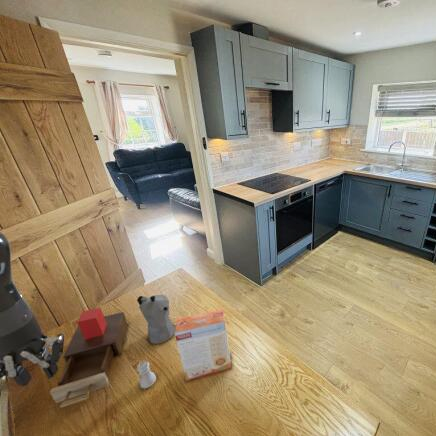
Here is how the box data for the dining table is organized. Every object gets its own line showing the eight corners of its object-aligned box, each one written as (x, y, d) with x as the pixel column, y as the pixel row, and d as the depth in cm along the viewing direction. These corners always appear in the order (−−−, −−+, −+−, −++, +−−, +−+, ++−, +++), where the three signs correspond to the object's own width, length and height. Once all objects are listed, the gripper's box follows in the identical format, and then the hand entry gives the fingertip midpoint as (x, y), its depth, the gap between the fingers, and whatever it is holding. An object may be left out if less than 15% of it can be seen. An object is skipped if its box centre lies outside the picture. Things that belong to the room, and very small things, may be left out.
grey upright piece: (184, 330, 92) (176, 293, 85) (164, 350, 84) (153, 311, 77) (156, 317, 98) (147, 282, 91) (134, 335, 90) (122, 298, 83)
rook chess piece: (151, 389, 72) (145, 372, 69) (136, 389, 72) (130, 371, 69) (159, 375, 76) (154, 358, 73) (145, 374, 76) (139, 357, 73)
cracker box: (229, 353, 84) (224, 307, 76) (231, 368, 79) (225, 322, 70) (187, 364, 80) (176, 317, 71) (185, 381, 74) (174, 333, 66)
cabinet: (119, 355, 82) (114, 342, 79) (70, 370, 77) (62, 356, 74) (127, 324, 94) (123, 311, 92) (85, 335, 89) (79, 322, 87)
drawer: (104, 400, 68) (99, 389, 67) (49, 419, 64) (42, 408, 62) (118, 349, 83) (114, 339, 81) (74, 361, 79) (69, 351, 77)
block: (85, 339, 80) (77, 322, 77) (89, 328, 84) (82, 311, 81) (102, 335, 82) (95, 317, 79) (106, 324, 86) (100, 307, 83)
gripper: (59, 300, 53) (84, 353, 60) (-31, 319, 48) (8, 375, 55) (42, 326, 47) (72, 381, 54) (-63, 350, 42) (-15, 409, 48)
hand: (40, 378), depth 54 cm, fingers open, 4 cm apart
